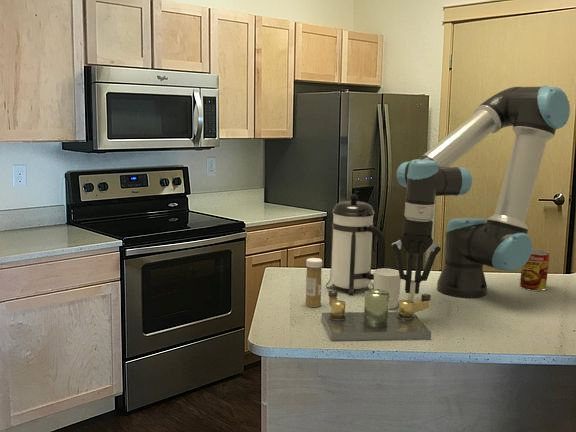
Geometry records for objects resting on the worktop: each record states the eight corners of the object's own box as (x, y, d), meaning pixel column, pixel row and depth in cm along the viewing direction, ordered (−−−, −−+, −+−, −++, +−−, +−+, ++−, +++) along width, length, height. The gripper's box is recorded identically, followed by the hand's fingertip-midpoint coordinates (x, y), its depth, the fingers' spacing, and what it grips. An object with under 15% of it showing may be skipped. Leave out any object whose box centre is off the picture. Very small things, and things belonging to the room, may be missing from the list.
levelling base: (412, 318, 171) (415, 281, 170) (430, 339, 157) (433, 298, 155) (321, 319, 169) (322, 281, 167) (331, 340, 154) (332, 298, 152)
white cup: (401, 303, 185) (403, 270, 183) (397, 311, 177) (399, 277, 176) (375, 300, 187) (376, 267, 185) (369, 307, 180) (371, 273, 178)
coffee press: (324, 295, 190) (328, 196, 185) (327, 281, 206) (330, 189, 201) (382, 299, 188) (387, 199, 183) (381, 284, 204) (386, 191, 199)
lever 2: (433, 311, 171) (434, 296, 170) (406, 319, 164) (407, 303, 163) (422, 307, 174) (423, 292, 173) (395, 315, 166) (396, 300, 166)
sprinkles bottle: (324, 306, 180) (325, 260, 178) (311, 308, 178) (312, 262, 175) (314, 301, 184) (316, 256, 182) (301, 304, 182) (303, 258, 179)
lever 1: (338, 305, 174) (338, 290, 173) (346, 319, 163) (346, 303, 162) (325, 305, 173) (325, 290, 173) (332, 319, 162) (332, 303, 162)
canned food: (515, 286, 205) (518, 250, 203) (527, 282, 210) (531, 247, 208) (538, 292, 199) (541, 255, 197) (550, 288, 204) (554, 252, 202)
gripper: (395, 219, 163) (387, 307, 167) (445, 223, 162) (436, 311, 167) (392, 214, 171) (385, 298, 175) (440, 217, 170) (432, 302, 174)
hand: (410, 304), depth 171 cm, fingers closed
